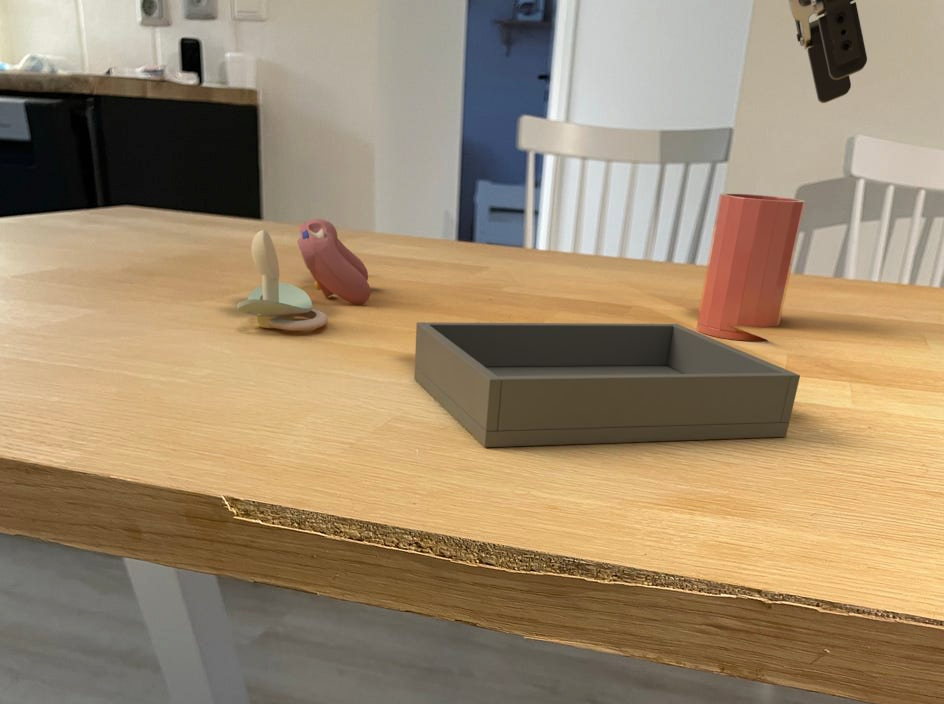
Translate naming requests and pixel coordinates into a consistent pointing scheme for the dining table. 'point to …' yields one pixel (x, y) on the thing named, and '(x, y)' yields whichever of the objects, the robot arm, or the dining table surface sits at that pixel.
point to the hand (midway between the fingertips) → (842, 87)
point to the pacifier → (277, 294)
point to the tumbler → (749, 264)
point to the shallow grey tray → (599, 383)
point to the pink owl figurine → (332, 262)
